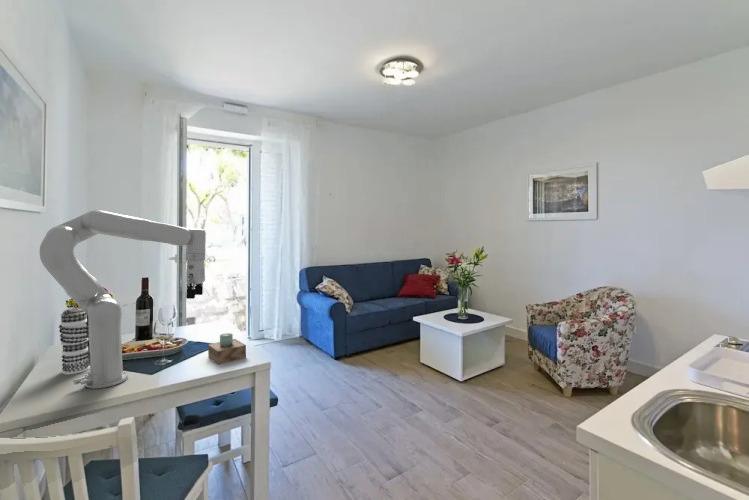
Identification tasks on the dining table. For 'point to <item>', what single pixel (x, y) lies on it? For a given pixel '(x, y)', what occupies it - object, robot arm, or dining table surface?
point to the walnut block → (226, 352)
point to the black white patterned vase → (74, 341)
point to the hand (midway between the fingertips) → (194, 296)
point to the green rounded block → (226, 340)
